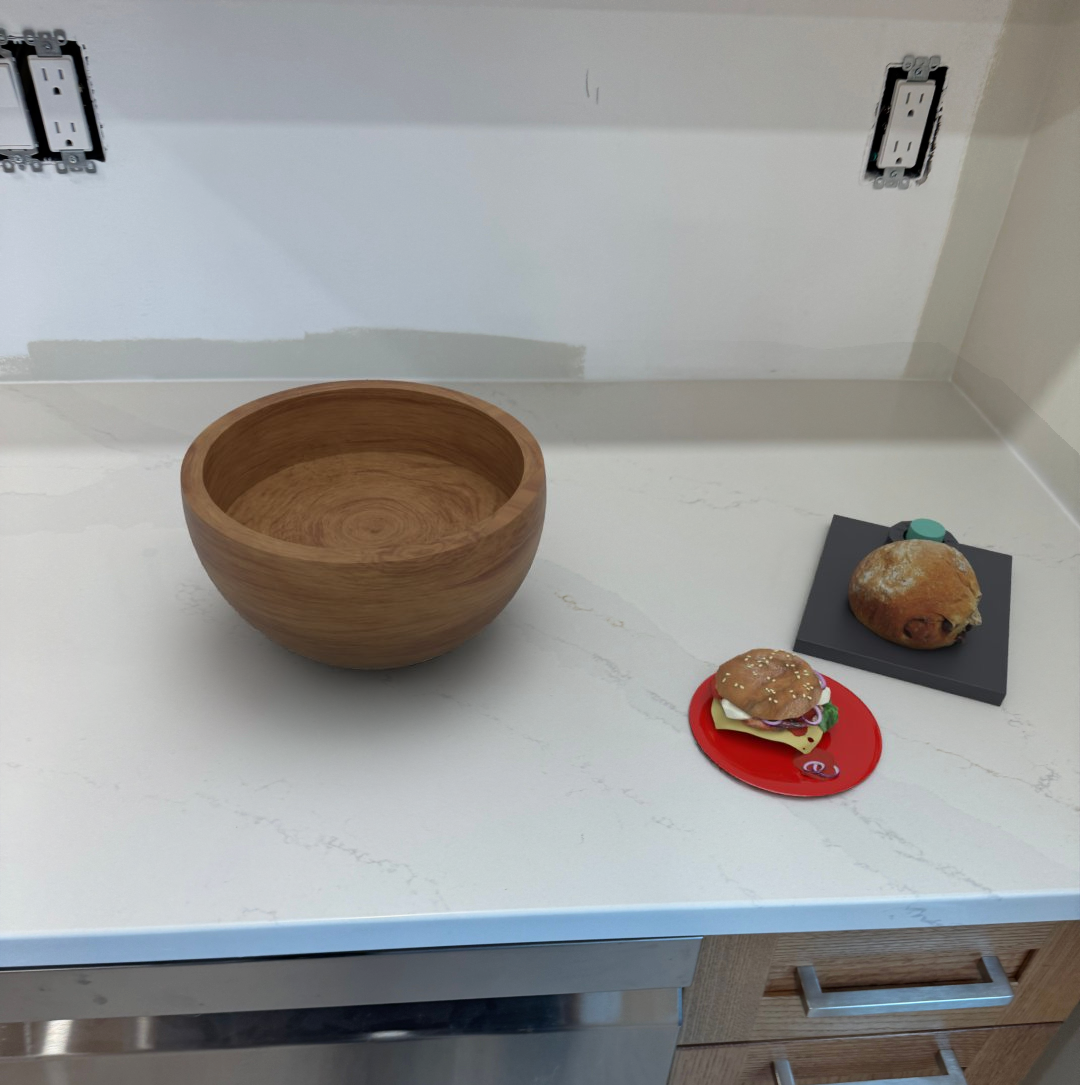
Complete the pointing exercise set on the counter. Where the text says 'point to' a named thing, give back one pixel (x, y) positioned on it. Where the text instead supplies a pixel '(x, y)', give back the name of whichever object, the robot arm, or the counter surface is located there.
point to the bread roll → (916, 594)
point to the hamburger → (784, 725)
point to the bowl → (366, 517)
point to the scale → (851, 643)
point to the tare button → (926, 530)
